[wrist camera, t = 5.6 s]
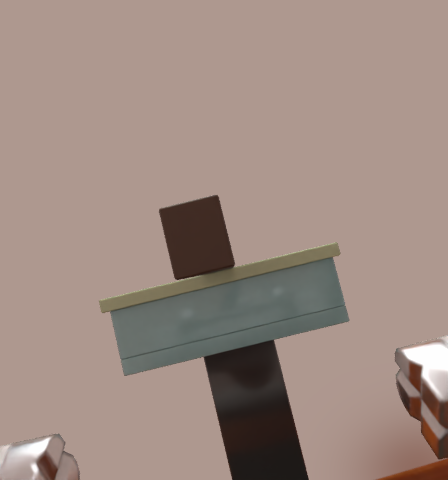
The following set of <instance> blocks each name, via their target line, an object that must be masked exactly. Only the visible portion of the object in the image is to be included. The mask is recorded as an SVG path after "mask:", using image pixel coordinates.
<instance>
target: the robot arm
mask: <svg viewBox="0 0 448 480" xmlns="http://www.w3.org/2000/svg"><path fill="white" fill-rule="evenodd" d="M395 362H396V363H397V365H398V366H399V367H400V370H399V371H398V373H397V374H396V384H397V389H398V392H399V395H400V398H401V400H402V402H403V404H404V406H405V408H406V410H407V411H408V413H409V414H410V416H412V417H414V418H415V419H417V420H419V421H421V433H422V435H423V436H424V438H425V439H426V441H427V442H428V444H429V445H430V447H431V448H432V450H433V452H434V453H435V455H436V456H437V458H438V459H443V458H448V335H447V336H443V337H439V338H438V339H437V338H436V339H431V340H427V341H424V342H420V343H416V344H412V345H408V346H404V347H401V348H397V349H396V352H395ZM64 446H65V441H64V440H63V439H62V437H61V436H60V434H53V435H48V436H43V437H39V438H35V439H29V440H25V441H20V442H16V443H13V444H8V445H4V446H0V480H80V476H79V475H80V472H79V468H78V464H77V461H76V460H75V458H74V456H73V455H71V454H69V453H67V452H65V451H63V450H64Z"/></svg>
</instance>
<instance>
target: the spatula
mask: <svg viewBox="0 0 448 480" xmlns="http://www.w3.org/2000/svg"><path fill="white" fill-rule="evenodd" d="M159 213H160V217H161V222H162V226H163V230H164V235H165V239H166V243H167V248H168V252H169V256H170V260H171V265H172V269H173V273H174V277H175V279H177V280H179V279H184V280H180V281H176V282H172V283H168V284H164V285H160V286H156V287H152V288H148V289H143V290H140V291H135V292H131V293H127V294H123V295H119V296H115V297H111V298H107V299H102V300H100V301H99V303H100V308H101V312H102V313H105V312H109V311H113V310H118V309H122V308H126V307H130V306H134V305H138V304H142V303H146V302H150V301H154V300H159V299H163V298H167V297H171V296H175V295H179V294H183V293H187V292H191V291H195V290H199V289H204V288H208V287H212V286H216V285H220V284H224V283H228V282H232V281H236V280H240V279H245V278H249V277H253V276H257V275H261V274H265V273H269V272H273V271H277V270H281V269H285V268H290V267H294V266H298V265H302V264H306V263H310V262H314V261H318V260H322V259H326V258H331V257H334V256H339V255H340V250H339V247H338V243H332V244H327V245H324V246H319V247H316V248H311V249H307V250H303V251H299V252H295V253H291V254H287V255H282V256H278V257H274V258H271V259H266V260H262V261H258V262H254V263H250V264H246V265H242V266H238V267H234V265H235V262H234V258H233V254H232V250H231V245H230V241H229V237H228V233H227V229H226V225H225V221H224V217H223V213H222V209H221V205H220V201H219V197H218V195H213V196H209V197H204V198H200V199H196V200H192V201H188V202H184V203H180V204H176V205H172V206H168V207H164V208H161V209H159ZM200 275H201V276H200ZM195 276H196V277H195ZM189 277H192V278H189ZM185 278H188V279H185Z"/></svg>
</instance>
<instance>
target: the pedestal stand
mask: <svg viewBox="0 0 448 480" xmlns="http://www.w3.org/2000/svg"><path fill="white" fill-rule="evenodd" d="M110 313H111V318H112V322H113V327H114V331H115V336H116V340H117V345H118V350H119V354H120V358H121V359H122V360H121V363H122V368H123V372H124V375H125V376H127V375H130V374H135V373H139V372H143V371H147V370H151V369H156V368H159V367H163V366H168V365H172V364H176V363H180V362H184V361H188V360H192V359H197V358H201V357H204V361H205V365H206V370H207V373H208V378H209V382H210V387H211V391H212V395H213V399H214V404H215V408H216V412H217V416H218V421H219V425H220V429H221V433H222V438H223V442H224V446H225V450H226V454H227V459H228V463H229V468H230V472H231V476H232V480H309V479H308V475H307V471H306V467H305V463H304V459H303V455H302V451H301V447H300V443H299V439H298V435H297V431H296V427H295V423H294V419H293V415H292V411H291V406H290V402H289V399H288V395H287V390H286V386H285V382H284V379H283V374H282V371H281V366H280V362H279V358H278V355H277V350H276V347H275V343H274V340H275V339H279V338H283V337H287V336H291V335H295V334H299V333H303V332H308V331H311V330H316V329H320V328H324V327H328V326H332V325H336V324H340V323H344V322H348V321H349V317H348V313H347V310H346V306H345V302H344V298H343V294H342V291H341V287H340V283H339V279H338V275H337V271H336V268H335V264H334V260H333V257H331V258H326V259H322V260H318V261H314V262H310V263H306V264H302V265H298V266H294V267H290V268H285V269H281V270H277V271H273V272H269V273H265V274H261V275H257V276H253V277H249V278H245V279H240V280H236V281H232V282H228V283H224V284H220V285H216V286H212V287H208V288H204V289H199V290H195V291H191V292H187V293H183V294H179V295H175V296H171V297H167V298H163V299H159V300H154V301H150V302H146V303H142V304H138V305H134V306H130V307H126V308H122V309H118V310H113V311H110Z"/></svg>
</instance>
